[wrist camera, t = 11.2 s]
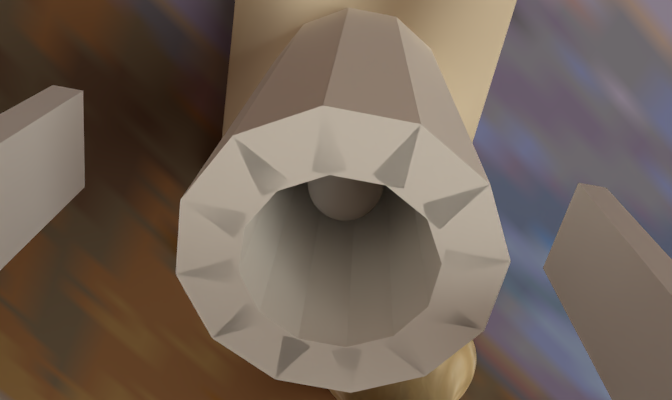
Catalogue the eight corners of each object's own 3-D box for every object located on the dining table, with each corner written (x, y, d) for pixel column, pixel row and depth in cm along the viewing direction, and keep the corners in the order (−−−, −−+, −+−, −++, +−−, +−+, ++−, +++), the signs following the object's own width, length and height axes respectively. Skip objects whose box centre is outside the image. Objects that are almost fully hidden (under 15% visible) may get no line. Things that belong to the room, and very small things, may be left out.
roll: (262, 159, 24) (170, 361, 13) (283, -6, 21) (187, 79, 10) (417, 188, 24) (453, 410, 13) (460, 29, 21) (553, 149, 10)
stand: (225, 172, 26) (140, 320, 16) (249, -69, 21) (152, -56, 12) (441, 213, 26) (479, 381, 17) (511, -15, 21) (617, 39, 12)
